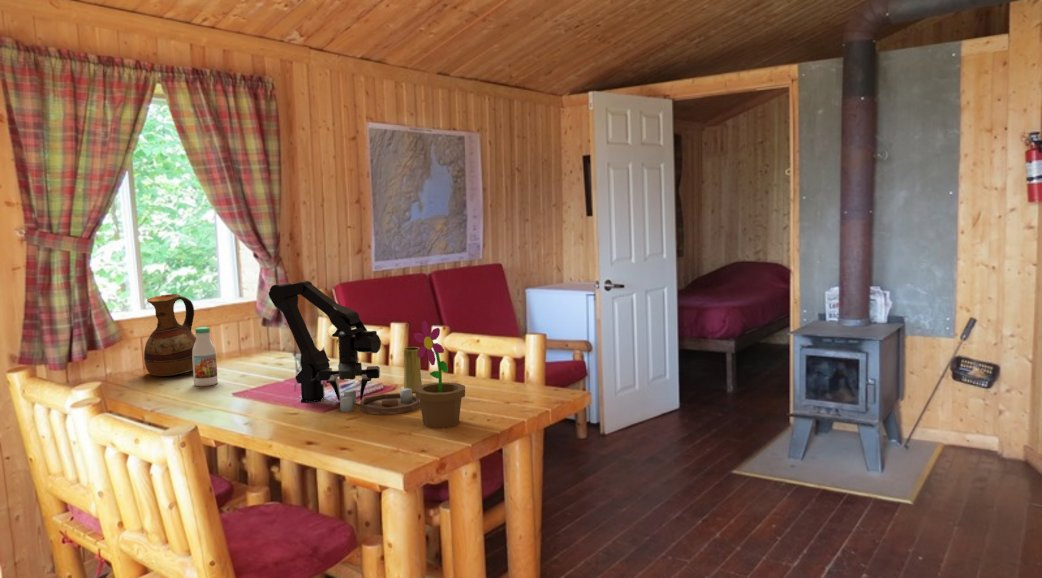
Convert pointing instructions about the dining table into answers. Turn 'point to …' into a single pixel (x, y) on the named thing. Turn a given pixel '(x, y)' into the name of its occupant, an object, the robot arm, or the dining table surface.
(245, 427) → the dining table surface
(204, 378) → the milk bottle
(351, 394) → the bead
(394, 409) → the tray
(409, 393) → the bead seated
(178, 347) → the ceramic pitcher
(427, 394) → the flowerpot
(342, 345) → the robot arm
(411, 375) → the vase
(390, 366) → the dining table surface
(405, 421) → the dining table surface
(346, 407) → the bead
